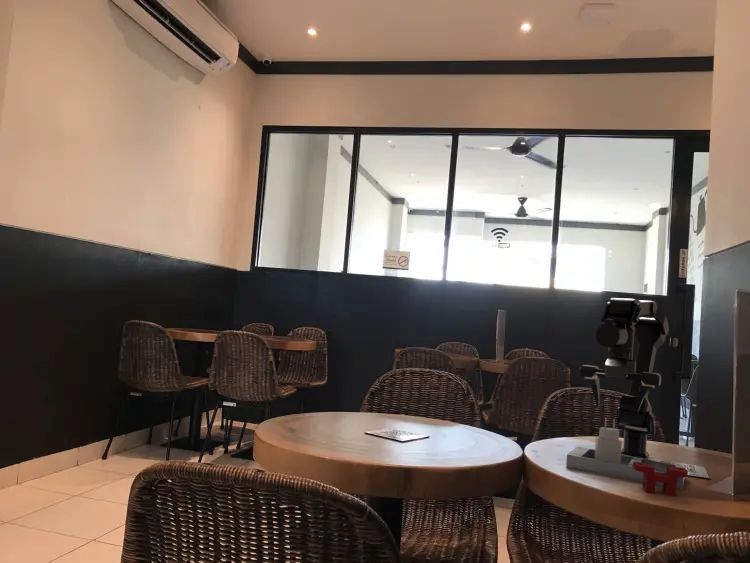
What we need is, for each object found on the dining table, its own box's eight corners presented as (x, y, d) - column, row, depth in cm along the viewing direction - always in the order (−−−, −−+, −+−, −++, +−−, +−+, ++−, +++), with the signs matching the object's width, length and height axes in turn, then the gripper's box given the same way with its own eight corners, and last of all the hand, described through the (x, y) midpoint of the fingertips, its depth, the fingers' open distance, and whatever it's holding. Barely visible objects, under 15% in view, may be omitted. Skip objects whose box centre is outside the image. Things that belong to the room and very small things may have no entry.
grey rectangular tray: (576, 458, 145) (577, 446, 145) (684, 479, 133) (685, 466, 133) (566, 467, 135) (566, 454, 135) (682, 491, 123) (683, 476, 123)
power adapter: (593, 466, 138) (596, 416, 138) (617, 469, 137) (620, 418, 138) (596, 470, 135) (599, 418, 135) (620, 473, 134) (624, 420, 135)
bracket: (689, 472, 116) (636, 465, 118) (687, 500, 116) (634, 493, 118) (684, 468, 119) (632, 461, 121) (682, 495, 119) (630, 488, 121)
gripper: (576, 344, 145) (572, 406, 144) (659, 352, 135) (655, 419, 134) (584, 343, 154) (581, 402, 153) (662, 351, 145) (659, 414, 144)
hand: (617, 409), depth 146 cm, fingers open, 9 cm apart
